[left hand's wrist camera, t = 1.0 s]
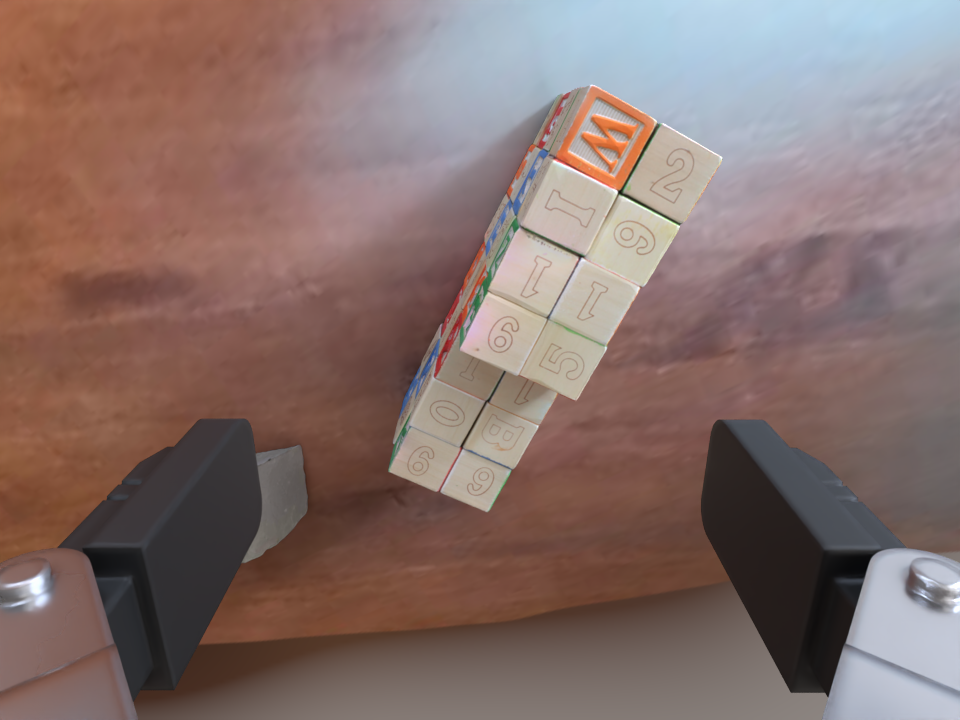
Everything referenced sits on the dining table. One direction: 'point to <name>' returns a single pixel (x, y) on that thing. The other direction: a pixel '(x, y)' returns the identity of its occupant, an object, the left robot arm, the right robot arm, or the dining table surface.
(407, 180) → the dining table surface
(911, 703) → the left robot arm
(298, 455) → the mineral specimen
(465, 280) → the stack of blocks
